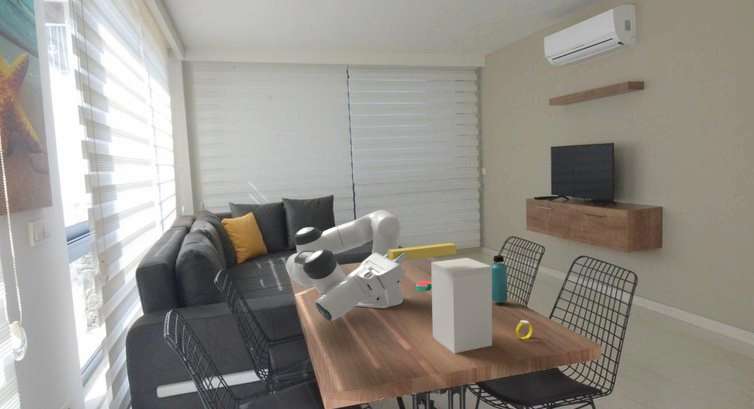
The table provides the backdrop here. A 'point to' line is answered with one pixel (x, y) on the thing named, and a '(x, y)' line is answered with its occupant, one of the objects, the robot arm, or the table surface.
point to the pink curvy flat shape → (423, 285)
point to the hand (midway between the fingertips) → (401, 253)
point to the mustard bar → (423, 251)
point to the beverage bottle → (499, 280)
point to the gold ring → (522, 322)
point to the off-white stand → (462, 304)
